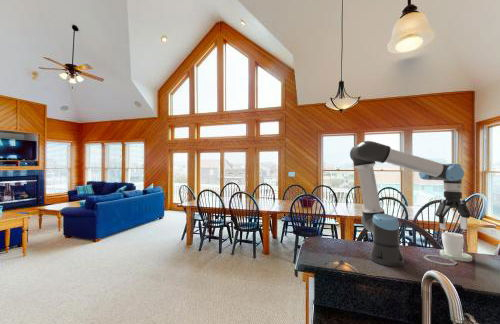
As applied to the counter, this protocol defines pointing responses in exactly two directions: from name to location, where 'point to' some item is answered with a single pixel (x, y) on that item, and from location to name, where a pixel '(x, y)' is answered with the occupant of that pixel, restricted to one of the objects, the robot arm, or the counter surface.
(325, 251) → the counter surface
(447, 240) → the cup
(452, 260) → the seat ring
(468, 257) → the pale green flat disc
